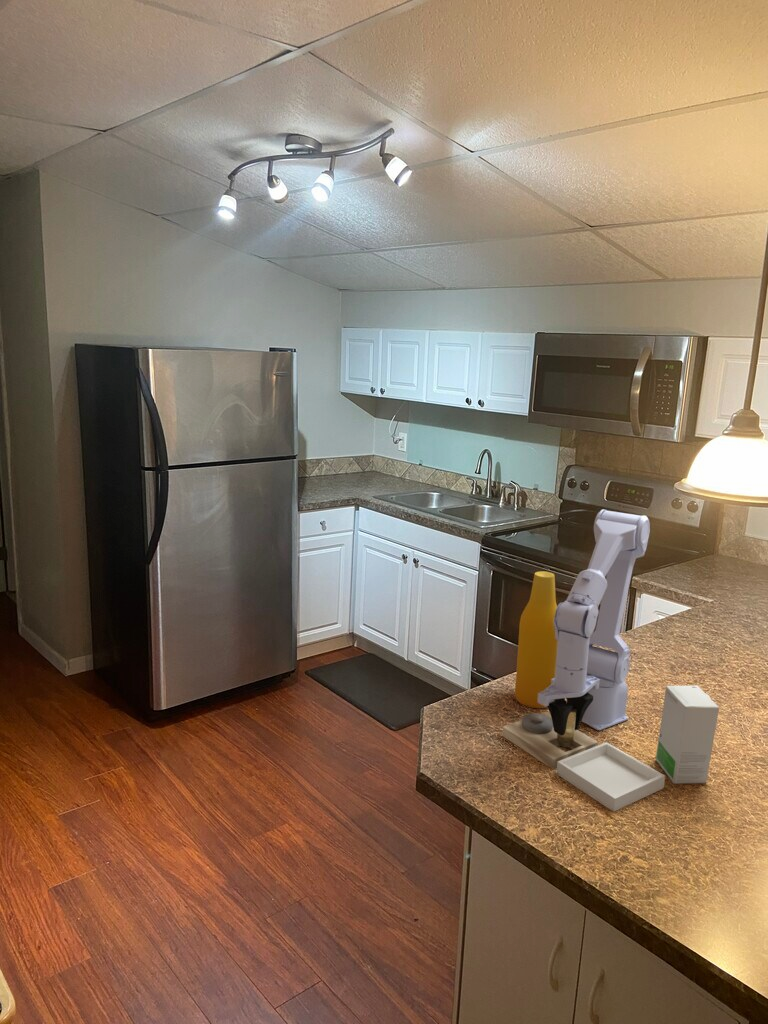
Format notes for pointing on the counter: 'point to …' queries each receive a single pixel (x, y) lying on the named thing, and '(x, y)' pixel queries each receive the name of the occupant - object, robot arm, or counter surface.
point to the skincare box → (686, 734)
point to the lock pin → (568, 731)
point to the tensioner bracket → (544, 739)
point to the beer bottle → (537, 642)
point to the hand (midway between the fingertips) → (566, 730)
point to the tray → (610, 776)
